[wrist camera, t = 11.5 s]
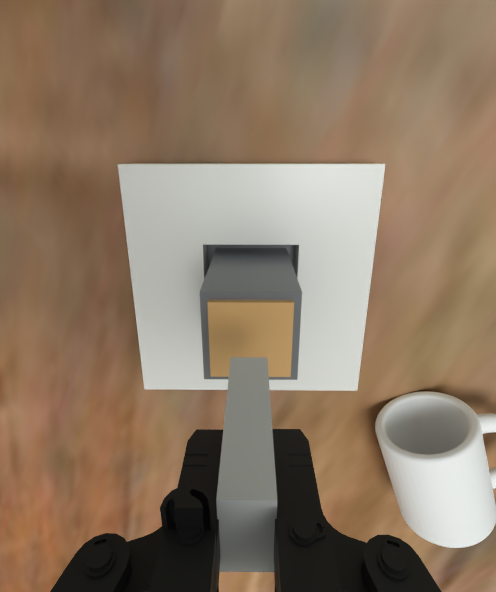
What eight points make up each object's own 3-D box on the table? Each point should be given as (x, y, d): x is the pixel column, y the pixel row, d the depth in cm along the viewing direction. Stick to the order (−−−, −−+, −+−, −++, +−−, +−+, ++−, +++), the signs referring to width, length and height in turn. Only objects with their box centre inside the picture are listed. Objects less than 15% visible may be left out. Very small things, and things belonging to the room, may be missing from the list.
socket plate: (129, 163, 27) (114, 164, 24) (373, 163, 27) (388, 164, 24) (151, 372, 34) (142, 393, 31) (349, 374, 34) (359, 394, 31)
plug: (216, 247, 29) (198, 294, 19) (286, 248, 29) (303, 294, 19) (218, 311, 31) (202, 383, 21) (283, 312, 31) (297, 383, 21)
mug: (387, 480, 38) (419, 559, 31) (363, 405, 35) (393, 473, 27) (507, 449, 37) (572, 524, 29) (493, 367, 33) (563, 428, 26)
